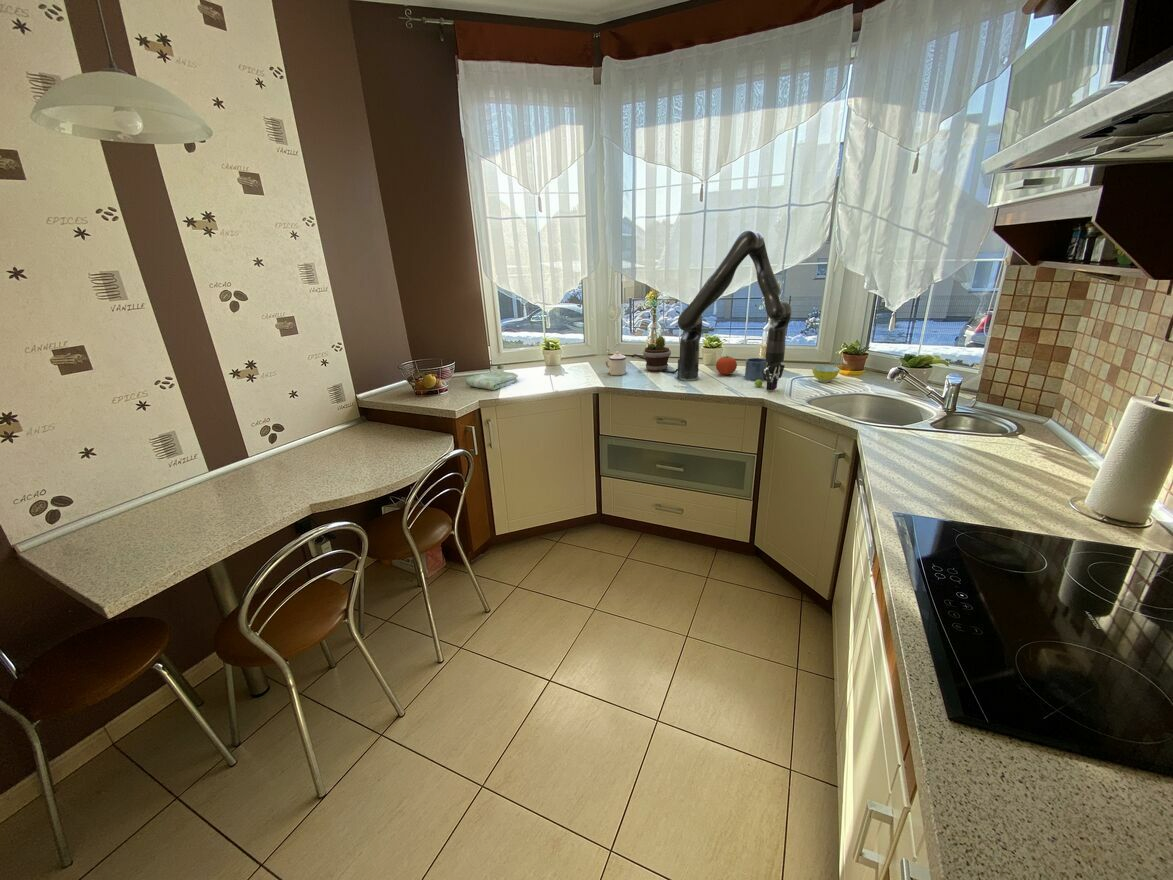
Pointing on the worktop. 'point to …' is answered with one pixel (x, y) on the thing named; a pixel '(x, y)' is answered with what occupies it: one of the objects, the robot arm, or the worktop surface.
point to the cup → (755, 368)
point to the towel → (492, 380)
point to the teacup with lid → (617, 364)
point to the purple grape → (773, 386)
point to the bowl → (825, 372)
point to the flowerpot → (657, 355)
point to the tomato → (726, 365)
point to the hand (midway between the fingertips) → (771, 389)
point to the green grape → (758, 383)
